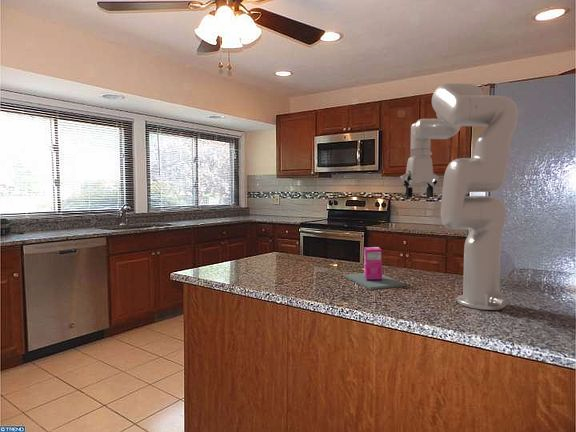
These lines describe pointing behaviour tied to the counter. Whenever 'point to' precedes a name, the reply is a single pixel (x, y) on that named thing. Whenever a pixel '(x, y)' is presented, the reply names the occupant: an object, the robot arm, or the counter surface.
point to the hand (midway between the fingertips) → (419, 197)
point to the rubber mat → (385, 282)
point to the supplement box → (373, 263)
